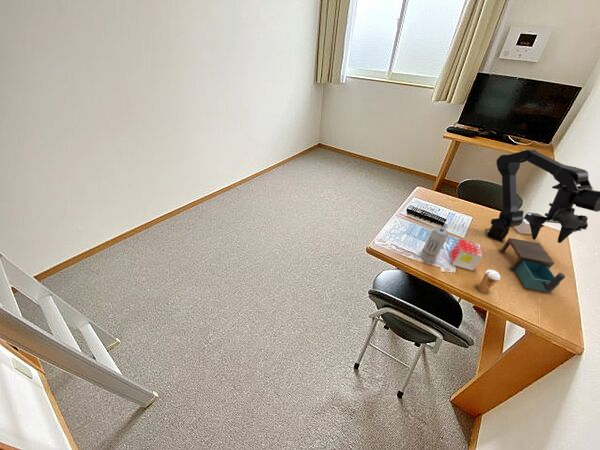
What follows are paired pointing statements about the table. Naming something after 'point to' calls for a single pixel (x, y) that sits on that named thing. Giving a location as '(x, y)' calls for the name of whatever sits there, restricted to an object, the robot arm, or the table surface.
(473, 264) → the red patterned cube box
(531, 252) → the brown drawer cabinet
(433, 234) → the energy drink can
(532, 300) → the table surface
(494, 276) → the milkshake
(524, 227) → the white cube
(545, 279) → the drawer
